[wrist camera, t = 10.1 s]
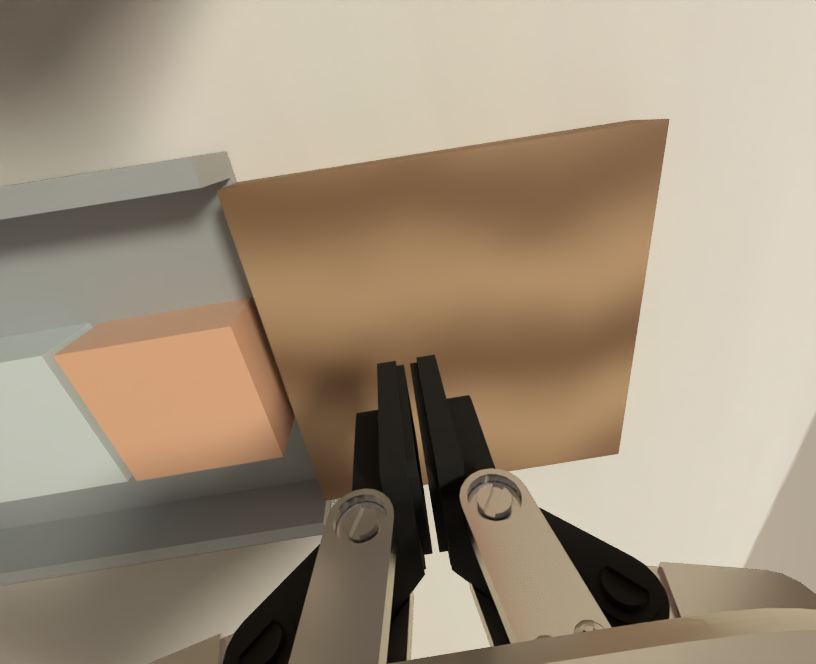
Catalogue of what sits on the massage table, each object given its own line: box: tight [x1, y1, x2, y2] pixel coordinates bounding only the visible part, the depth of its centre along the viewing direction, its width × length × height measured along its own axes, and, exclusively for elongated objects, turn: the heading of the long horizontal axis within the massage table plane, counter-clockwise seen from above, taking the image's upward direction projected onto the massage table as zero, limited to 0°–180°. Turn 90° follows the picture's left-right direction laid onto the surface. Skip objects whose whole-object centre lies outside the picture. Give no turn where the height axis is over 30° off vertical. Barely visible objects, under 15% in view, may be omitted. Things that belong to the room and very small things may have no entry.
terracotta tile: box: [53, 298, 294, 481], centre depth 16 cm, size 6×6×2 cm
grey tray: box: [0, 151, 331, 586], centre depth 16 cm, size 16×18×3 cm
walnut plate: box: [216, 119, 669, 500], centre depth 16 cm, size 14×14×2 cm
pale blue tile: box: [0, 323, 133, 503], centre depth 16 cm, size 6×6×2 cm
